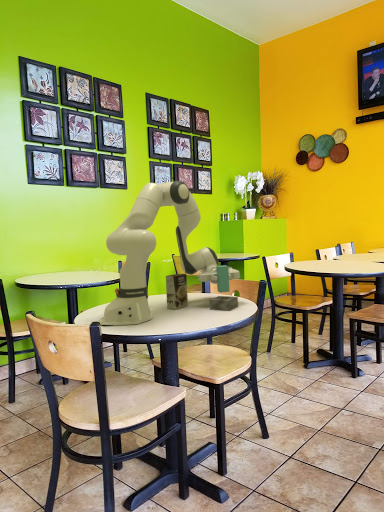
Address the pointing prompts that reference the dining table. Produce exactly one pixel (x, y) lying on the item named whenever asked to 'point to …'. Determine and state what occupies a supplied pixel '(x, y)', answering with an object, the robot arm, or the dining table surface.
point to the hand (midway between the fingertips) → (223, 277)
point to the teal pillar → (223, 279)
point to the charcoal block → (223, 303)
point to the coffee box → (176, 291)
